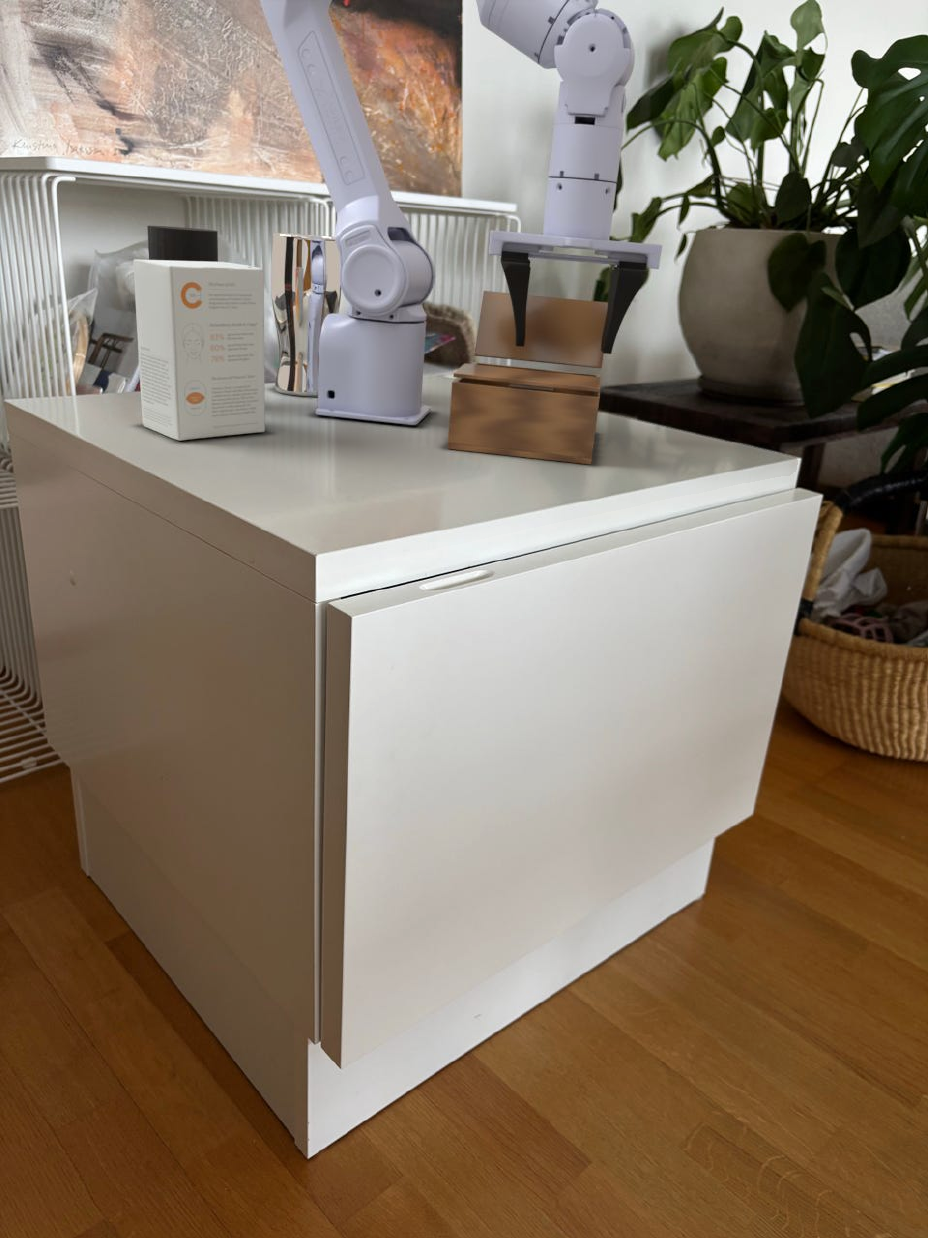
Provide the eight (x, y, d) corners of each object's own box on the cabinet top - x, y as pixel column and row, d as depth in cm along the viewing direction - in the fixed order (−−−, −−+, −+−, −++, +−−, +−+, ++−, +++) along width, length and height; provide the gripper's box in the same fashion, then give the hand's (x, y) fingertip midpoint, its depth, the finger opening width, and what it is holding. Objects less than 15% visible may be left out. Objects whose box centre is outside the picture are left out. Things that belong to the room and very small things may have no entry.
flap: (483, 290, 91) (483, 291, 91) (474, 354, 90) (474, 355, 90) (610, 302, 90) (610, 303, 90) (601, 367, 89) (601, 368, 89)
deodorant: (200, 392, 95) (196, 228, 89) (232, 404, 91) (230, 232, 85) (143, 396, 91) (135, 224, 85) (173, 408, 87) (167, 228, 81)
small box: (226, 418, 85) (224, 260, 80) (266, 433, 81) (266, 267, 76) (139, 425, 79) (131, 257, 74) (177, 442, 75) (171, 264, 70)
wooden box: (447, 448, 81) (452, 373, 78) (468, 420, 93) (473, 354, 90) (590, 464, 80) (600, 388, 77) (593, 433, 91) (602, 367, 89)
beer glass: (325, 400, 96) (329, 238, 90) (259, 392, 97) (259, 232, 92) (347, 389, 103) (352, 238, 97) (285, 382, 104) (286, 232, 98)
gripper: (496, 171, 77) (481, 347, 82) (677, 186, 77) (651, 361, 82) (494, 174, 83) (481, 337, 88) (662, 189, 83) (638, 350, 89)
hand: (562, 348), depth 86 cm, fingers open, 7 cm apart
